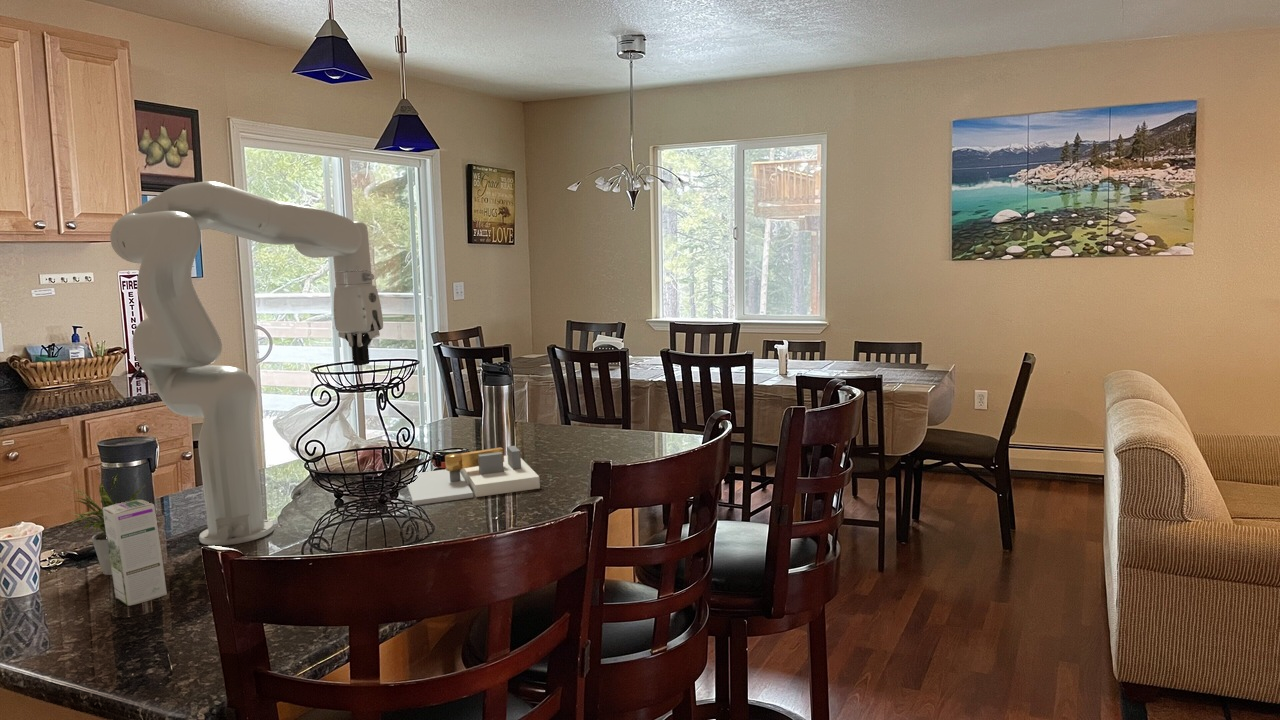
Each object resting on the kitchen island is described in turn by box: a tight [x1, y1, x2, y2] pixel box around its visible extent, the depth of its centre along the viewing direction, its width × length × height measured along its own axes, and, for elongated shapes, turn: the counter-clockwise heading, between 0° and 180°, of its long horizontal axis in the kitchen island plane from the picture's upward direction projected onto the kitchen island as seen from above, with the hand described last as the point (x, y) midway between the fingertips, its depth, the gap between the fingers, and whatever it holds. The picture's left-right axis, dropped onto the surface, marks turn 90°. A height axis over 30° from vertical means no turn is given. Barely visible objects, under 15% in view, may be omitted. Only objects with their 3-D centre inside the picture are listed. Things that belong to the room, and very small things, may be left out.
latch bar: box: [444, 446, 505, 471], centre depth 193 cm, size 13×4×3 cm, turn 118°
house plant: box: [63, 473, 149, 576], centre depth 147 cm, size 14×14×16 cm
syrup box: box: [102, 498, 168, 606], centre depth 134 cm, size 6×6×14 cm
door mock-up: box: [406, 445, 541, 506], centre depth 192 cm, size 24×26×6 cm
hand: (361, 364), depth 192 cm, fingers closed
